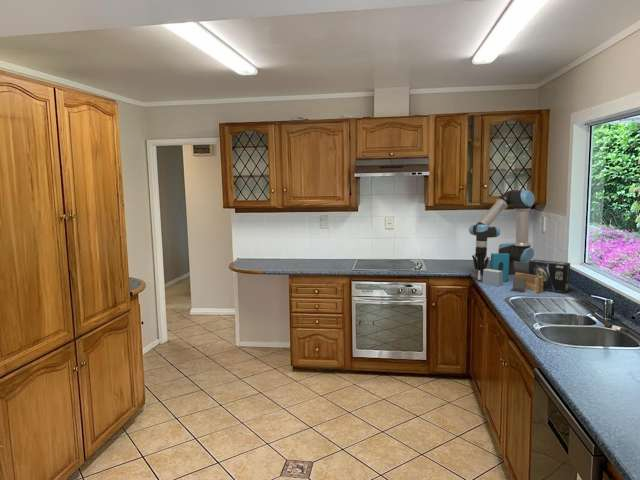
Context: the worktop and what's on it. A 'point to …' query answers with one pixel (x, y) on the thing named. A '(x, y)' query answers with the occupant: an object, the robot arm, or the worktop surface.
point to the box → (552, 274)
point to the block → (504, 260)
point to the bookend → (519, 285)
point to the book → (492, 277)
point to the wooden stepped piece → (532, 282)
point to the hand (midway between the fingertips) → (479, 279)
